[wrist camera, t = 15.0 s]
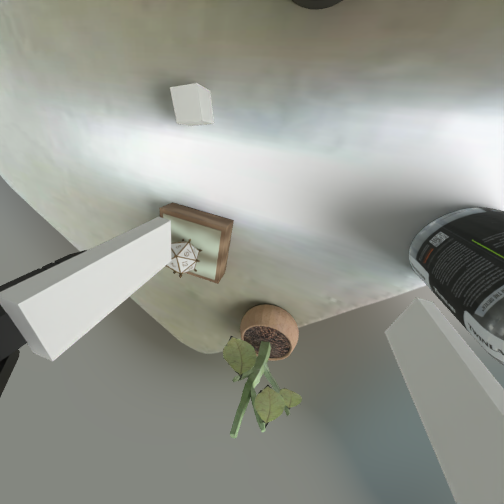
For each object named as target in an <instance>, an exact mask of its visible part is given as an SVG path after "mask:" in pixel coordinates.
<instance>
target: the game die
mask: <svg viewBox="0 0 504 504" xmlns="http://www.w3.org/2000/svg"><path fill="white" fill-rule="evenodd" d="M190 242H191V239H189V240H188V242H185V241H184V239H182V241H181V242H174V243H171V261H170V262H169V263H168V264H167V265H166V266H167V267H169V268H170V269H172V270H174V272H173V273H174V274H175V273H176V272H177V273H179V274H180V275H179V277H180V278H181V277H182V274H183V273H186V272H189V271H192V270H194V271H195V272H197V270H196V269H195V267H196V263H197V262H200V261H199V260H197V259H198V255H199V252H202V250H198V249H196V248H195V247H194V246H193V245H192V244H191V243H190Z"/></svg>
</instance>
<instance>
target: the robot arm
mask: <svg viewBox="0 0 504 504" xmlns="http://www.w3.org/2000/svg"><path fill="white" fill-rule="evenodd" d="M293 1H294V2H295V3H297V4H298V5H300V6H302V7H305V8H309V9H323V8H327V7H330V6H333V5H335V4H337V3H339V2H341V1H342V0H293ZM170 261H171V220H168V219H164V218H161V217H157V218H154V219H152V220H150V221H148V222H146V223H144V224H142V225H140V226H138V227H136V228H133V229H131V230H129V231H127V232H125V233H123V234H121V235H119V236H117V237H115V238H112V239H110V240H108V241H106V242H104V243H102V244H100V245H98V246H96V247H94V248H92V249H89V250H85V251H81V252H77V253H73V254H70V255H67V256H65V257H63V258H61V259H58V260H56V261H55V263H50V264H48V265H45V266H43V267H42V268H41V269H37V270H34V271H32V272H30V273H28V274H26V275H23V276H21V277H19V278H17V279H15V280H13V281H10V282H8V283H6V284H4V285H2V286H0V397H1V394H2V392H3V390H4V388H5V386H6V384H7V382H8V379H9V377H10V375H11V373H12V371H13V368H14V366H15V364H16V362H17V360H18V357H19V353H20V352H19V350H18V349H19V348H20V347H21V346H23V345H24V344H26V343H27V344H28V345H29V347H30V348H31V350H32V351H33V353H35V354H37V355H40V356H42V357H44V358H46V359H49V360H51V361H54V360H55V359H56V358H57V357H58V356H60V355H61V354H62V353H63V352H64V351H66V349H68V348H69V347H70V346H71V345H73V344H74V343H75V342H76V341H77V340H78V339H80V338H81V337H82V336H83V335H84V334H85V333H87V332H88V331H89V330H90V329H91V328H93V327H94V326H95V325H96V324H97V323H98V322H100V321H101V320H102V319H103V318H104V317H105V316H107V315H108V314H109V313H110V312H111V311H113V310H114V309H115V308H116V307H117V306H118V305H120V304H121V303H122V302H123V301H124V300H126V299H127V298H128V297H129V296H130V295H132V294H133V293H134V292H135V291H136V290H137V289H139V288H140V287H141V286H142V285H143V284H144V283H146V282H147V281H148V280H149V279H150V278H152V277H153V276H154V275H155V274H156V273H157V272H159V271H160V270H161V269H162V268H163V267H165V266H166V265H167V264H168V263H169V262H170ZM385 334H386V336H387V339H388V341H389V344H390V346H391V349H392V351H393V353H394V356H395V358H396V361H397V363H398V365H399V368H400V370H401V372H402V374H403V377H404V380H405V382H406V384H407V387H408V389H409V392H410V394H411V396H412V399H413V401H414V404H415V406H416V408H417V411H418V413H419V416H420V418H421V420H422V423H423V425H424V427H425V430H426V432H427V434H428V437H429V439H430V442H431V444H432V447H433V449H434V451H435V454H436V456H437V459H438V461H439V463H440V466H441V468H442V470H443V473H444V475H445V477H446V480H447V482H448V485H449V487H450V490H451V492H452V494H453V497H454V499H455V501H456V504H504V389H503V388H502V386H501V385H500V384H499V383H498V381H497V380H496V379H495V378H494V376H493V375H492V374H491V373H490V372H489V370H488V369H487V368H486V367H485V366H484V364H483V363H482V362H481V361H480V359H479V358H478V357H477V355H476V354H475V353H474V352H473V351H472V349H471V348H470V347H469V346H468V344H467V343H466V342H465V341H464V340H463V338H462V337H461V336H460V335H459V333H458V332H457V331H456V330H455V328H454V327H453V326H452V325H451V323H450V322H449V321H448V320H447V318H446V317H445V316H444V315H443V314H442V312H441V311H440V310H439V309H438V308H437V306H436V305H435V304H434V303H433V302H431V301H428V300H424V299H421V298H418V297H416V298H415V299H414V300H413V302H412V303H411V304H410V305H409V306H408V307H407V308H406V309H405V310H404V311H403V312H402V314H401V315H400V316H399V317H398V318H397V319H396V320H395V321H394V323H392V325H391V326H390V327H389V328H388V329H387V330H386V331H385Z"/></svg>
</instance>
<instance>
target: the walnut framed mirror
mask: <svg viewBox="0 0 504 504" xmlns="http://www.w3.org/2000/svg"><path fill="white" fill-rule="evenodd" d="M160 217H161V218H164V219H168V220H171V243H174V242H181V241H182V239H184V241H185V242H188V240H189V239H191V242H190V243H191V244H192V245H193V246H194V247H195V248H196V249H198V250H202V252H199V255H198V259H197V260H199V261H200V262H197V263H196V267H195V269H196V270H197V272H195V271H194V270H192V271H189V272H186V273H188V274H191V275H194V276H197V277H200V278H203V279H206V280H209V281H212V282H215V283H217V284H218V283H219V281H220V280H221V278H222V277H223V275H224V274H225V270H226V264H227V258H228V251H229V245H230V239H231V233H232V227H233V221H234V220H230V219H227V218H223V217H220V216H217V215H213V214H210V213H206V212H203V211H200V210H196V209H193V208H189V207H186V206H183V205H179V204H176V203H170V204H168V205H166V206H163V207H161V208H160Z"/></svg>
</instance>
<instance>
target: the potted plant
mask: <svg viewBox="0 0 504 504" xmlns="http://www.w3.org/2000/svg"><path fill="white" fill-rule="evenodd" d="M240 331H241V339H237V338H234V337H233V336H231V337H230V339H229V342H228V343H227V345H226V346H225V348H224V349H223V354H224V355H223V356H224V359H225V360H226V361H227V362H228V364H229V365H230V366H231V367H232V368H233V369H234V370H235V372H236V373H238V374H239V375H238V376H236V377H234V379H233V382H236V381H239V380H242V379H244V378H246V377H248V380H247V382H246V384H245V387H244V390H243V393H242V397H241V401H240V404H239V407H238V409H237V412H236V416H235V419H234V422H233V425H232V429H231V432H230V435H231V438H236V437H237V434H238V431H239V428H240V424H241V421H242V418H243V415H244V413H245V410H246V408H247V405H248V403H249V400H250V397H251V401H252V405H253V408H254V412H255V415H256V419H257V422H258V424H259V427H260V429H261V431H262V432H264V431H265V428H266V426H267V424H268V423H269V422H270V421H272V420H275V419H276V418H277V417H278V416H280V415H281V414H282V412H283V410H285V412H286V414H287V415H289V414H290V412H289V409H290V408H291V407H294V406H296V405H298V404H299V403H300V402H301V401H302V398H301V396H300V395H298V394H297V393H295V392H293V391H290V390H288V389H285V388H284V389H281V390H280V388H279V386H278V384H277V383H276V381H275V379H274V378H273V377H272V375H271V373H270V371H269V369H268V366H267V362H268V360H282V359H284V358H287V357H288V356H289V355H290V354H291V352H292V351H293V349H294V347H295V346H296V344H297V341H298V332H299V331H298V327H297V324H296V322H295V320H294V319H293V317H292V316H291V315H290V314H289V313H288V312H287V311H285V310H284V309H282V308H280V307H277V306H274V305H267V304H265V305H258V306H255V307H253V308H251V309H250V310H248V311H247V312H246V314H245V315H244V317H243V318H242V321H241V325H240ZM253 366H254V367H253ZM252 367H253V368H252ZM263 373H264V375H265V377H266V378H267V380H268V381H269V382H270V384H271V385H272V387H273V388H274V390H275V391H274V390H273V389H272V388H271V387H270V386H269V385H267V386H266V387H265V388H264V389H263V390H261V391H260V392H259V393H258V395H257V396H256V392H255V390H254V388H255V386H256V385H257V384H258V383H259V382H260V378H261V376H262V374H263Z"/></svg>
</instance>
